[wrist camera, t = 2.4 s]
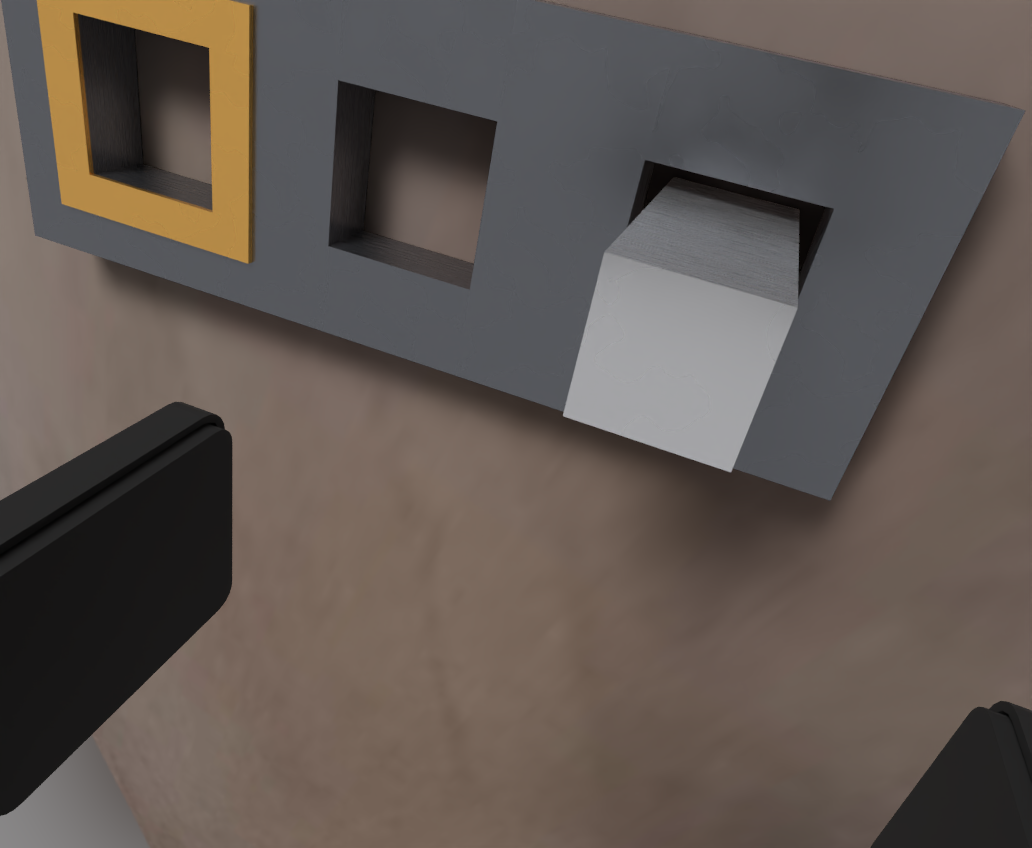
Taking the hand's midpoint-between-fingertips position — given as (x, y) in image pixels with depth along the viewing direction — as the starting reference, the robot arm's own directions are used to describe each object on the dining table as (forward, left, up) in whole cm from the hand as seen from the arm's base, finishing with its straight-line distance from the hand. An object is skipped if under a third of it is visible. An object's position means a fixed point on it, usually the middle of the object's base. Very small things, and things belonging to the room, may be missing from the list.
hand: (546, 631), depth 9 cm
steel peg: (0, 0, -18) cm, 18 cm away
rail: (+10, 0, -18) cm, 21 cm away
